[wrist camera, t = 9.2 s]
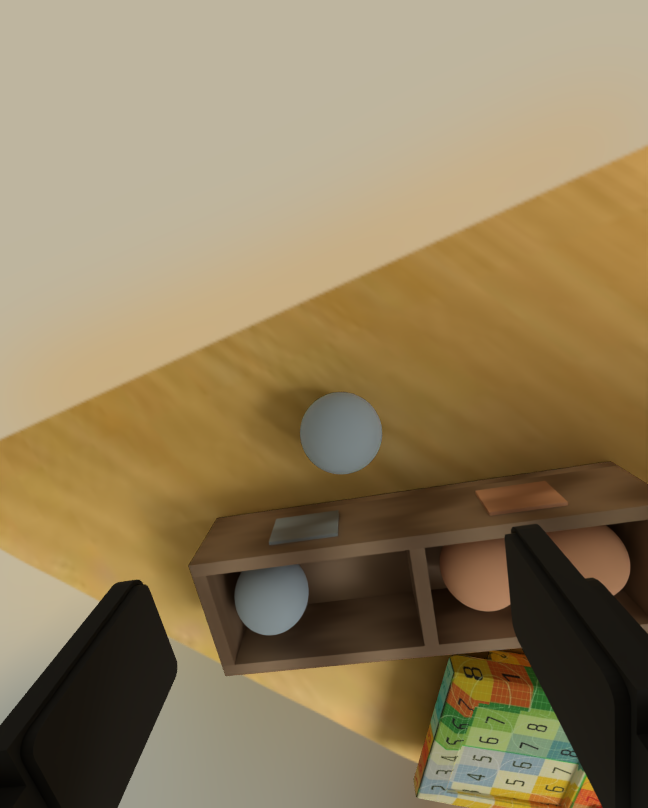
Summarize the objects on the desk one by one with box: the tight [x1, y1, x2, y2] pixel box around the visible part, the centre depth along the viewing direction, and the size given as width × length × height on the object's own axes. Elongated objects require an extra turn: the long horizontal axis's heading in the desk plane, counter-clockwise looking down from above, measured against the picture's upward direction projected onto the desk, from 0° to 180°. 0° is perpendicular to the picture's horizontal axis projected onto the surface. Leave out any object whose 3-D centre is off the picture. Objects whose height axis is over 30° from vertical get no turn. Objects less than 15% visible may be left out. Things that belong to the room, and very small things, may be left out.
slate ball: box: [300, 392, 382, 474], centre depth 21 cm, size 5×5×5 cm
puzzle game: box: [414, 650, 603, 808], centre depth 27 cm, size 12×5×20 cm
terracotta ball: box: [440, 538, 510, 611], centre depth 22 cm, size 5×5×5 cm
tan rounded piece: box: [546, 525, 630, 596], centre depth 22 cm, size 5×5×5 cm
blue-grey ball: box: [234, 564, 309, 635], centre depth 24 cm, size 5×5×5 cm
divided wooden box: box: [189, 461, 648, 676], centre depth 23 cm, size 25×8×5 cm, turn 101°
